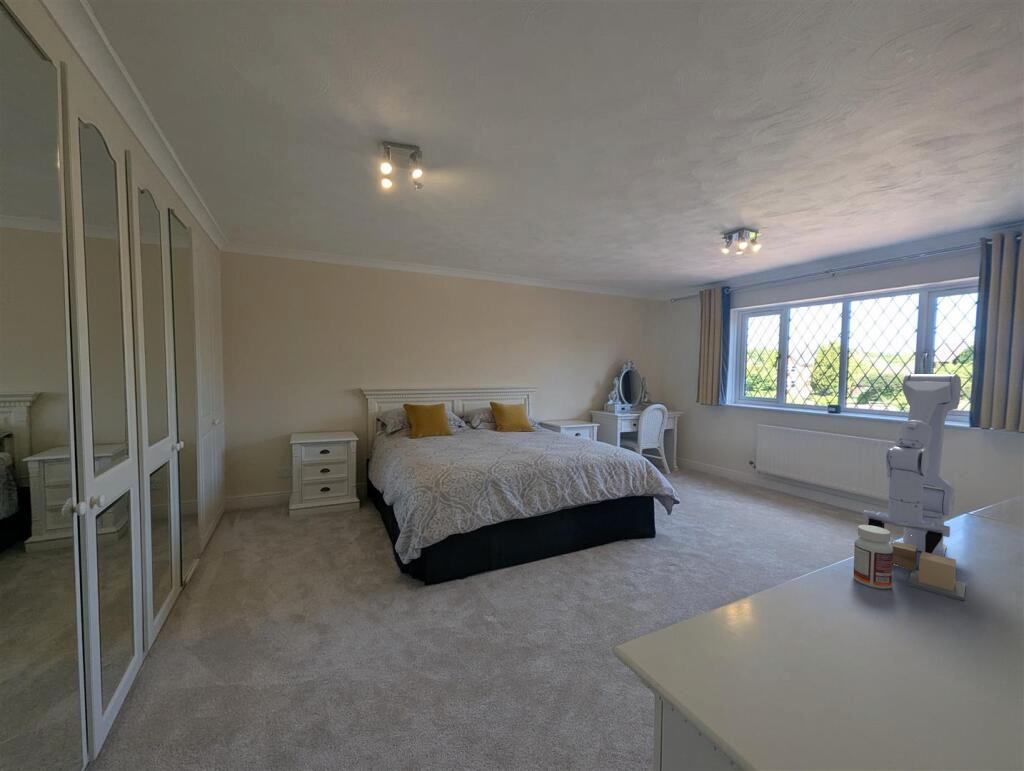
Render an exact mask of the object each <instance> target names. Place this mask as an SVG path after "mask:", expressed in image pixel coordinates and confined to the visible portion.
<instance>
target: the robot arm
mask: <svg viewBox="0 0 1024 771" xmlns="http://www.w3.org/2000/svg"><path fill="white" fill-rule="evenodd" d="M961 391H962V379H961V376H959V375H958V374H957V373H952V374H940V373H939V374H934V373H933V374H927V373H926V374H925V373H924V374H923V373H922V374H921V373H920V374H919V373H917V374H915V373H913V374H912V373H907V374H906V375H905V376H904V377H903V381H902V392H903V395H904V397H905V400H906V402H907V403H908V406H909V410H908V411H909V412H908V419H907V421H904V422H902V423H900V425H899V427H898V431H897V434H896V438H895V440H894V443H893V444H894V445H893V447H889V448H888V449H887V452H886V456H885V465H886V469H887V473H886V475H887V478H888V479H889V481H888V482H889V485H888V486H889V487H888V507H887V508H888V509H887V510H888V511H887V512H882V511H881V512H880V511H874V510H873V511H872V510H867V509H864V510H863V512H862V520H864V521H868V523H867V525H871V526H876V527H880V528H884V529H885V524H888V525H894V526H898V527H902V528H903V537H902V539H903V540H902V539H901V541H899V542H900V543H905V544H909V545H913V546H918V550H917V552H921V553H922V552H926V553H931V554H935V555H939V556H944V557H945V554H946V550H947V544H944V537H945V538H950V537H951V536H950V534H951V526H949V525H945V517H949V516H951V515H952V514H953V512H954V506H955V495H954V493H955V489H954V487H953V485H952V484H951V483H950V482H949V481H947V480H946V479H945V478H944V477H942V476H941V475H940V471H941V463H942V453H943V443H944V432H945V422H946V418H947V416H948V413H949V412H951V411H954V410H957V409H958V406H959V405H960V399H961ZM927 486H928V487H927ZM939 488H940V489H939ZM911 535H912V536H911Z"/></svg>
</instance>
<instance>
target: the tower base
mask: <svg viewBox="0 0 1024 771" xmlns="http://www.w3.org/2000/svg"><path fill="white" fill-rule="evenodd" d="M956 562H957V560H956V558H951V557H947V556H945V555H944V556H939V555H935V554H931V553H926V552H922V551H921V554H920V557H919V562H918V563H919V566H918V570H917V569H915V570H914V569H913V570H911V572H910V575H909V578H908V580H907V584H906V585H907V586H910V587H913V588H917V589H921V590H925V591H928V592H932V593H933V594H938V595H943V596H946V597H948V598H949V597H950V598H952V599H957V600H959V601H965V594H966V588H967V586H966V582H963V581H959V580H956V564H957V563H956Z"/></svg>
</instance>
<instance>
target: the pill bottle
mask: <svg viewBox="0 0 1024 771" xmlns="http://www.w3.org/2000/svg"><path fill="white" fill-rule="evenodd" d="M857 535H858V536H859V537H856V538H855V540H854V543H853V544H854V554H853V579H854V580H855V581H857V582H858V583H860V584H863V585H864V586H867V587H871V588H873V589H882V590H888V589H890V588H891V587H892V585H893V566H894V565H893V547H892V545H891V544H890V541H891V532H890V530H888V529H886V528H885V527H884V528H880V527H876V526H871V525H868V524H859V525H858V526H857Z"/></svg>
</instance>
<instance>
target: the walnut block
mask: <svg viewBox="0 0 1024 771" xmlns="http://www.w3.org/2000/svg"><path fill="white" fill-rule="evenodd" d="M893 542H894V543H893ZM900 542H901V541H896V540H891V542H889V544H891V545H892V547H893V564H895V565H898V566H901V567H900V568H902V567H904V568H903V569H906V568H907V570H910V571H912V570H913V569H914V570H916V568H917V566H918V546H913V545H909V544H905V543H900ZM898 566H897V567H898Z"/></svg>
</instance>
